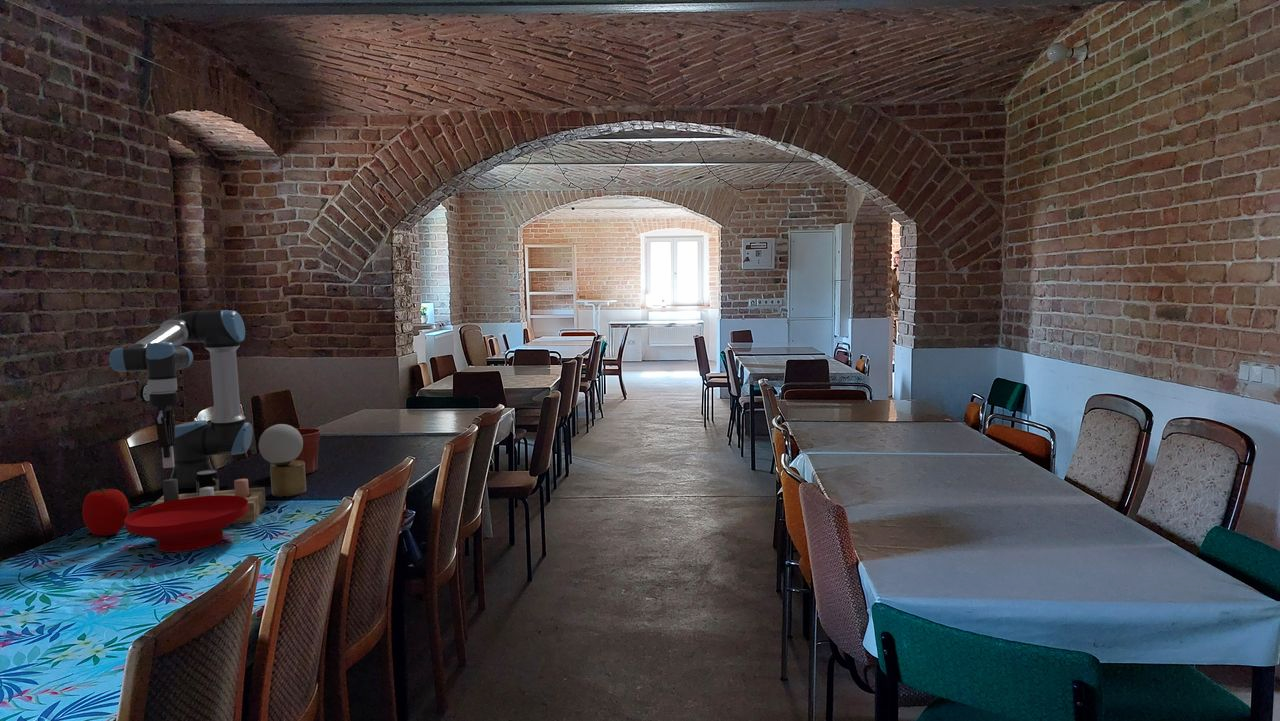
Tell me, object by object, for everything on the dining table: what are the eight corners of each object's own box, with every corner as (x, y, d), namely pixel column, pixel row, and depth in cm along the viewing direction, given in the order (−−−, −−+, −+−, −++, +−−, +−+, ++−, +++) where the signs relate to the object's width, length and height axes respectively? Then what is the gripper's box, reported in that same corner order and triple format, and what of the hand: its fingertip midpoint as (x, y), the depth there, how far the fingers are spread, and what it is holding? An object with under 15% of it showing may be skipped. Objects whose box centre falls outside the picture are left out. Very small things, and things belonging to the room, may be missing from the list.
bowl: (273, 531, 230) (271, 498, 229) (183, 567, 201) (181, 529, 200) (196, 523, 240) (194, 491, 239) (100, 555, 211) (97, 519, 210)
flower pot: (312, 476, 298) (310, 435, 296) (270, 477, 298) (267, 436, 296) (330, 466, 314) (327, 427, 313) (289, 467, 314) (287, 428, 313)
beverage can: (210, 510, 253) (208, 474, 252) (193, 509, 255) (190, 473, 254) (224, 504, 260) (222, 469, 259) (208, 503, 261) (205, 469, 260)
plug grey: (202, 514, 246) (201, 487, 246) (216, 513, 248) (215, 486, 247) (199, 518, 243) (197, 490, 242) (214, 517, 244) (212, 489, 243)
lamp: (284, 501, 263) (280, 428, 261) (252, 498, 268) (247, 427, 265) (316, 490, 277) (312, 421, 275) (285, 487, 282) (281, 419, 280)
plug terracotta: (237, 506, 249) (235, 479, 248) (250, 505, 250) (249, 478, 250) (234, 510, 245) (232, 482, 245) (248, 508, 247) (246, 481, 246)
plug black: (166, 507, 243) (164, 479, 242) (181, 506, 244) (178, 478, 244) (162, 510, 239) (160, 482, 239) (177, 509, 241) (175, 481, 240)
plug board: (164, 513, 250) (162, 495, 250) (265, 504, 259) (264, 487, 259) (144, 531, 231) (143, 512, 231) (254, 521, 240) (253, 502, 239)
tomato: (73, 537, 227) (69, 490, 226) (111, 526, 238) (107, 481, 237) (103, 541, 223) (99, 493, 222) (140, 529, 234) (137, 484, 232)
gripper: (156, 390, 244) (161, 463, 246) (142, 395, 231) (148, 472, 233) (182, 389, 246) (187, 462, 248) (171, 394, 233) (176, 470, 235)
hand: (168, 467), depth 241 cm, fingers closed
